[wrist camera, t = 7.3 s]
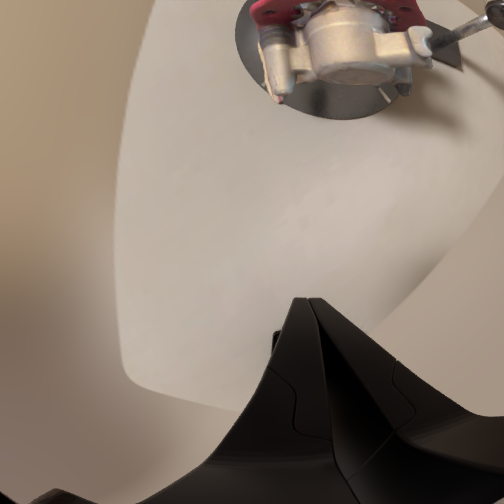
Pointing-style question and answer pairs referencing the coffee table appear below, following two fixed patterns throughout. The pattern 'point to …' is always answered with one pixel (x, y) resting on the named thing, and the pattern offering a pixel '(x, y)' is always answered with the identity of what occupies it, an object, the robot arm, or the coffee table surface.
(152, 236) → the coffee table surface
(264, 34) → the brake caliper
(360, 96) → the truing plate
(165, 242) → the coffee table surface
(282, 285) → the coffee table surface
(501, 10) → the stand
